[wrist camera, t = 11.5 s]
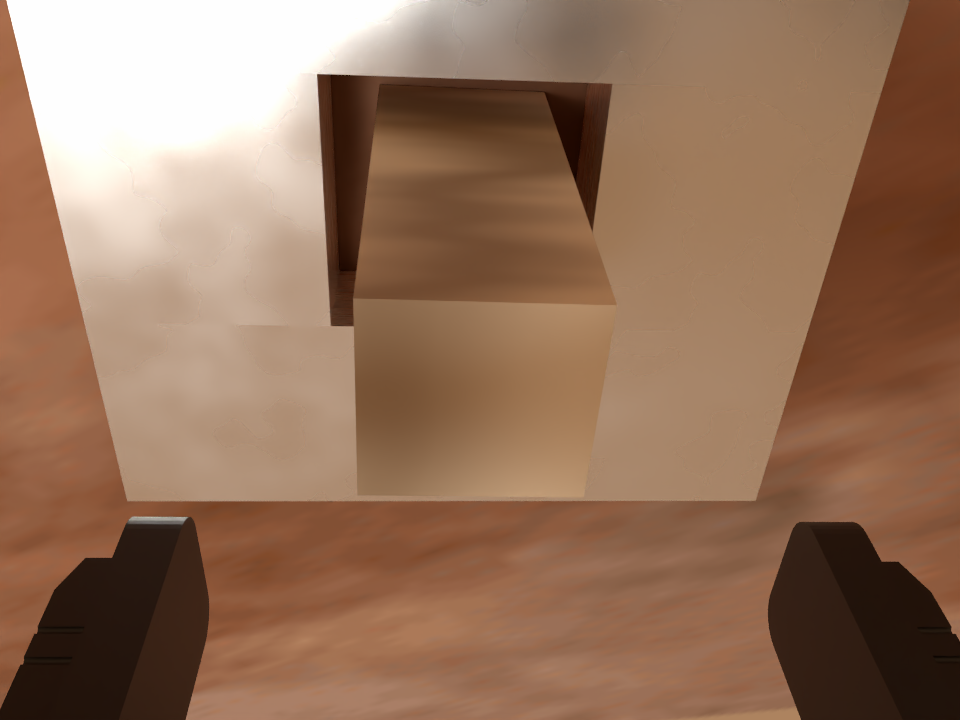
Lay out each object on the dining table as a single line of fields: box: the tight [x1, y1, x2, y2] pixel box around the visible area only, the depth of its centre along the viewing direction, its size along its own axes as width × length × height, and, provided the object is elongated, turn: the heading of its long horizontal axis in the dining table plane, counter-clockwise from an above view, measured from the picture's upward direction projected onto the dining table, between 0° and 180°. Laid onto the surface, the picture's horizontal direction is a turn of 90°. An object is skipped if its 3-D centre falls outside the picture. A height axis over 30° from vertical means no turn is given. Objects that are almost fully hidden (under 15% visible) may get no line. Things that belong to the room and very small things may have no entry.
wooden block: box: [353, 85, 617, 497], centre depth 19 cm, size 4×4×10 cm
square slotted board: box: [7, 0, 910, 501], centre depth 22 cm, size 18×18×3 cm
